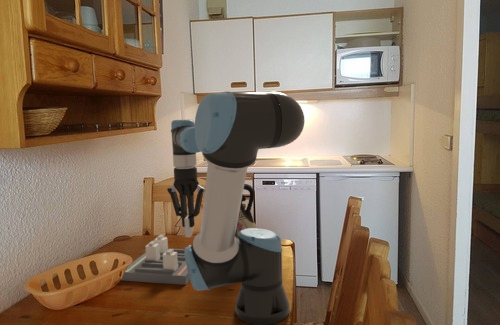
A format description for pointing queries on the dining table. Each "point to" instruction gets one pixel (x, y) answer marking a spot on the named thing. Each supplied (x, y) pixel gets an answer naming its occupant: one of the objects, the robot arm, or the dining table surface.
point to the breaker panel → (157, 270)
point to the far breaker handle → (162, 243)
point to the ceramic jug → (245, 213)
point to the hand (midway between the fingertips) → (188, 235)
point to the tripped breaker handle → (170, 260)
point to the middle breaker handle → (152, 251)
